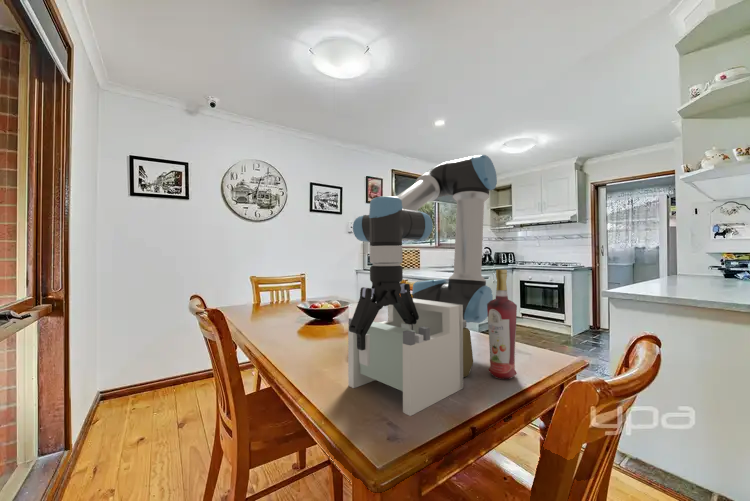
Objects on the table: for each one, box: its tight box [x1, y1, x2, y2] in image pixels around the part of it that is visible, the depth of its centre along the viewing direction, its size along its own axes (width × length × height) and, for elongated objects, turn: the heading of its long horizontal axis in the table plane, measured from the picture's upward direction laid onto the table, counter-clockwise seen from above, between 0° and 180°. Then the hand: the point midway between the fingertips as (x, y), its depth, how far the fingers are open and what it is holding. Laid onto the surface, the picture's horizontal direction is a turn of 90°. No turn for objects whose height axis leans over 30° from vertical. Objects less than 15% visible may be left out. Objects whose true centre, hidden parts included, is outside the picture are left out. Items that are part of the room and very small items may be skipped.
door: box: [360, 320, 423, 392], centre depth 73 cm, size 4×20×12 cm, turn 43°
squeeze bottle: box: [463, 320, 474, 378], centre depth 86 cm, size 8×8×18 cm
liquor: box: [487, 269, 518, 380], centre depth 84 cm, size 7×7×28 cm
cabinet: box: [347, 298, 464, 417], centre depth 77 cm, size 19×20×20 cm
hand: (386, 357), depth 73 cm, fingers open, 13 cm apart
